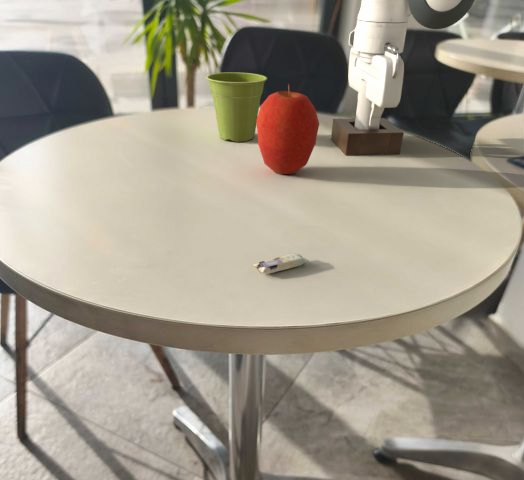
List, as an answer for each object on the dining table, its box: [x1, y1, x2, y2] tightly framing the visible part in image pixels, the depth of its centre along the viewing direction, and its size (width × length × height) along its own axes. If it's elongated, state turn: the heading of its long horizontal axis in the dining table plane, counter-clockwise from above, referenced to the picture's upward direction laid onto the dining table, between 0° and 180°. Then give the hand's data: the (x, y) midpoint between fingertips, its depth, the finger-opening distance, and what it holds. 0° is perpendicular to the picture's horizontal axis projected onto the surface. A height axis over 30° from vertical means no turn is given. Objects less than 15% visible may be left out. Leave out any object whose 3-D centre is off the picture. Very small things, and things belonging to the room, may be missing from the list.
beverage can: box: [354, 79, 382, 130], centre depth 96 cm, size 5×5×12 cm
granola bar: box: [251, 253, 310, 275], centre depth 59 cm, size 7×2×1 cm, turn 118°
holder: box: [330, 117, 405, 156], centre depth 99 cm, size 11×11×4 cm
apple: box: [256, 84, 320, 175], centre depth 82 cm, size 10×10×14 cm
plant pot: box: [205, 71, 268, 143], centre depth 99 cm, size 12×12×11 cm
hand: (367, 122), depth 97 cm, fingers closed on beverage can, 5 cm apart
